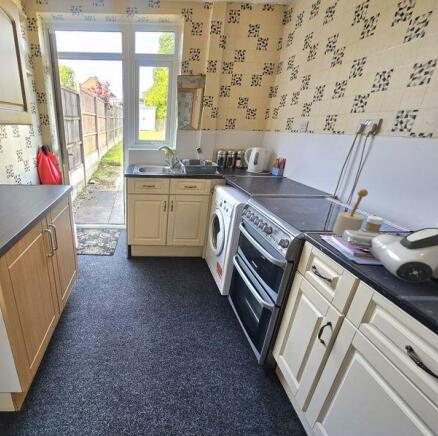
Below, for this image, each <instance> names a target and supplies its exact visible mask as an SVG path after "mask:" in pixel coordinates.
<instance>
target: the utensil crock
mask: <svg viewBox="0 0 438 436" xmlns="http://www.w3.org/2000/svg"><path fill="white" fill-rule="evenodd" d="M368 191H369V190H367V189H365V188H361V189H359V190H357V196H358V197H357V199H356V201H355V204H354V205H353V208H352V210H351V212H349V211H347V212H346V211H339V212H338V214H337V216H336V219H335V223H334V226H333V230H332V233H333V234H334V235H335V236H337V237H338V236H339V237H341V236H343V233H344V231H345V230H354V231H358V230H359V229H360V230H362V226H363V224H364V221H365V217H364V216H362V215H360V214H357V213H356V211H357V209H358V207H359V205H360V203H361V201H362V200H363V198H365V197H367V196H368V195H369V192H368Z"/></svg>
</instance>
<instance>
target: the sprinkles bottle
mask: <svg viewBox="0 0 438 436" xmlns="http://www.w3.org/2000/svg"><path fill="white" fill-rule="evenodd" d="M384 222H385V221H384V218H382V217H379V216H375V215H369V216H367V217H366V223H365V226H364V228H363V230H364V231H365V232H370V233H377V234H378V233H379V232H380V230H381V227H382V226H383V223H384ZM358 247H359V246H358ZM359 248H362V249H367V250H369V248H365V247H359Z"/></svg>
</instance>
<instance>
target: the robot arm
mask: <svg viewBox="0 0 438 436" xmlns="http://www.w3.org/2000/svg"><path fill="white" fill-rule="evenodd" d="M341 238H342V240H343V241H345V243H348V244H349V245H351V246H354V247H357V246H359V247H365V248H369V251H370V252H369V253H370V254H371V255H373V256H374V258H375V259H376V260H378V262H380V263H381V265H382V266H383V267H384V268H385V269H386V270H388V272H390V273H391V274H392V275H393V276H395V277H397V278H398V279H401V280H403V281H405V282H410V283H422V282H425V281H428V280H430V281H431V282H432V283H434V284H436V285H438V227H425V228H420V229H417V230H415V231H412V232H411V233H408V234H407V235H405V236H399V235H394V234H386V233H383V231H379V233H378V234H377V233H370V232H365V231H364V229H359V230H358V231H354V230H345V231H344V233H343V236H342V237H341Z"/></svg>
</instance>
